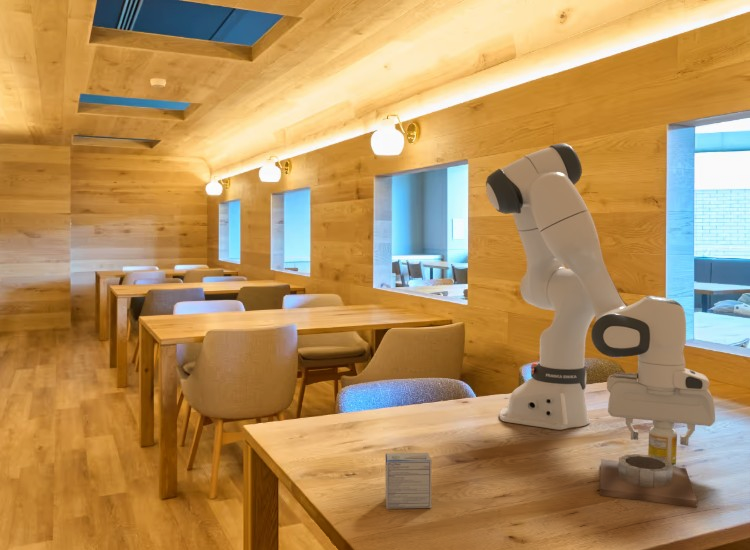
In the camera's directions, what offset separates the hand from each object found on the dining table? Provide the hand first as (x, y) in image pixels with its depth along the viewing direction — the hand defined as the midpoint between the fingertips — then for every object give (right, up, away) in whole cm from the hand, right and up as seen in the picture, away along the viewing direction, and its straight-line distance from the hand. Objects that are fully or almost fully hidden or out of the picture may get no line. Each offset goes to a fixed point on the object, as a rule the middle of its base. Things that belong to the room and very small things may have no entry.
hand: (658, 441), depth 136 cm
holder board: (-7, -6, -10) cm, 14 cm away
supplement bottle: (+1, -5, +1) cm, 5 cm away
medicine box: (-53, -6, -20) cm, 57 cm away
